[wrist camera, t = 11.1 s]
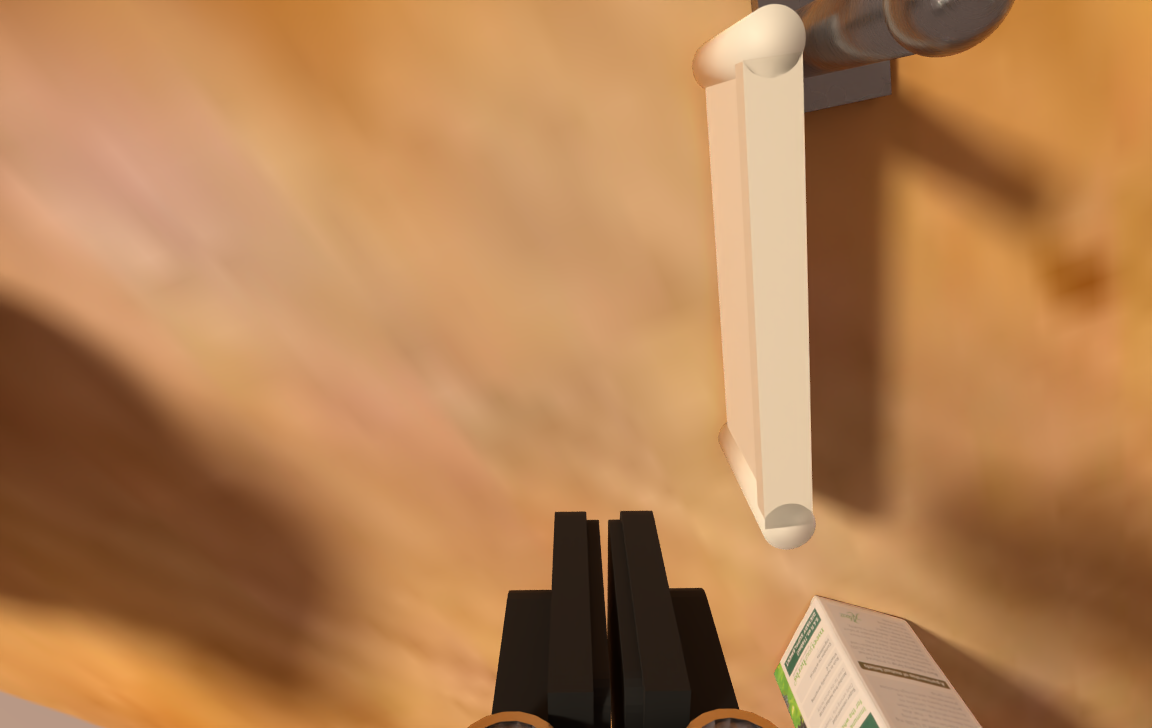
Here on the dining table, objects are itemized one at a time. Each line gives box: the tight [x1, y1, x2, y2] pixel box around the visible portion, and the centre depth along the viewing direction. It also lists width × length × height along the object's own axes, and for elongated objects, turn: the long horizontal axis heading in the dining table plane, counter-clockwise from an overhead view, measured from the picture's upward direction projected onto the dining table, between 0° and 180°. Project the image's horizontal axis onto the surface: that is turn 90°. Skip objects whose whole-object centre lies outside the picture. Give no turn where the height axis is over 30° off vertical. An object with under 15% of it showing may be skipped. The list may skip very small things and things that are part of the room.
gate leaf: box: [692, 4, 816, 549], centre depth 27 cm, size 2×19×8 cm, turn 7°
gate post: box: [751, 0, 1015, 113], centre depth 21 cm, size 5×5×15 cm
